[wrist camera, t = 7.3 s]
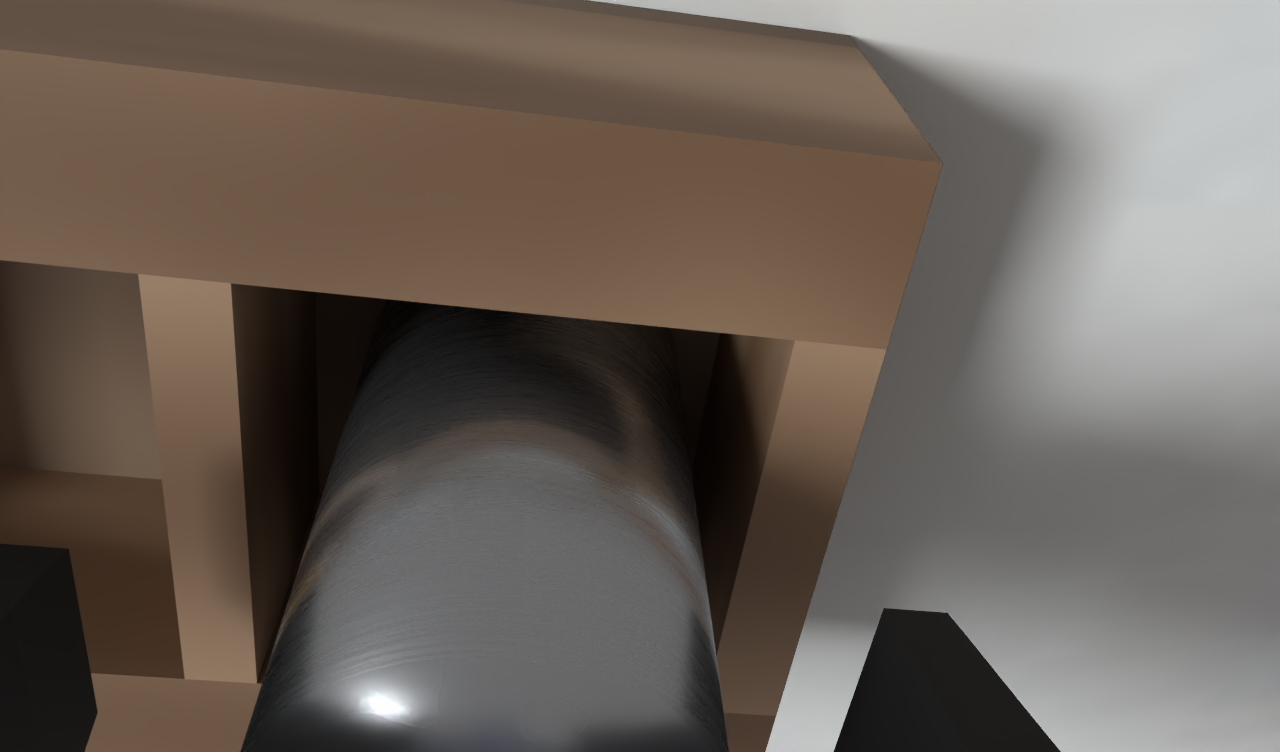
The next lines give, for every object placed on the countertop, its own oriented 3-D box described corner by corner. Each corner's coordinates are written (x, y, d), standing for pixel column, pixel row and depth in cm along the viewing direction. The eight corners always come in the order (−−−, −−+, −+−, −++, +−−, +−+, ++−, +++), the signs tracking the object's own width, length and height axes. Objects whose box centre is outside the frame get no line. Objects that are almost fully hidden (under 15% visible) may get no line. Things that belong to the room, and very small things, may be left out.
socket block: (715, 597, 18) (746, 814, 14) (-150, 532, 16) (-342, 757, 13) (849, 35, 13) (943, 162, 10) (-357, -125, 11) (-748, -42, 8)
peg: (666, 488, 16) (715, 973, 10) (384, 484, 16) (262, 980, 10) (685, 234, 14) (763, 660, 8) (359, 225, 13) (182, 658, 8)
